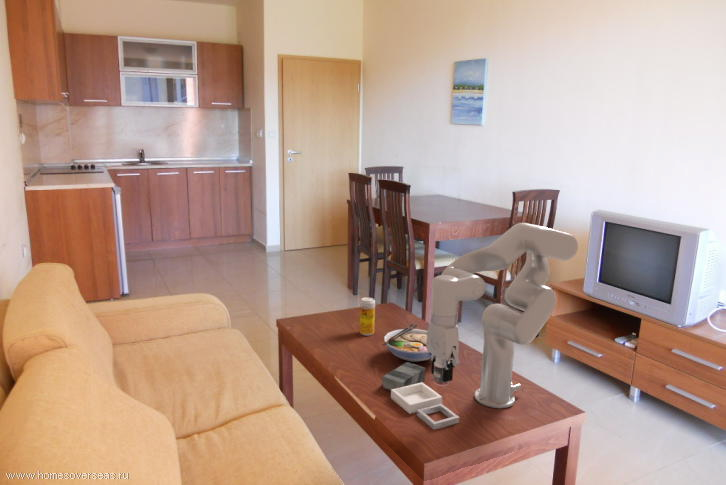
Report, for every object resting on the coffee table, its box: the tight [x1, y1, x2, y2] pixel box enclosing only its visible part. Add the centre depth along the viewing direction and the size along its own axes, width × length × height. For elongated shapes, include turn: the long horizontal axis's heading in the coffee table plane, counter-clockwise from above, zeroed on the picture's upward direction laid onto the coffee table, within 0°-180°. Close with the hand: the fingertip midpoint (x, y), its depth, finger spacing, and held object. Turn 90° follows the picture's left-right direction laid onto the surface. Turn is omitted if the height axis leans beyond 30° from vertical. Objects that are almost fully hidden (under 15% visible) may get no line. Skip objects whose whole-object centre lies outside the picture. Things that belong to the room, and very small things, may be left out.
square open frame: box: [416, 403, 460, 431], centre depth 165 cm, size 9×9×2 cm
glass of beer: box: [359, 296, 376, 337], centre depth 229 cm, size 6×6×15 cm
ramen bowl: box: [382, 323, 431, 363], centre depth 207 cm, size 25×23×8 cm
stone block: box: [381, 361, 426, 392], centre depth 186 cm, size 9×14×5 cm, turn 141°
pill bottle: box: [433, 357, 451, 387], centre depth 162 cm, size 5×5×8 cm
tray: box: [390, 382, 443, 415], centre depth 174 cm, size 12×11×3 cm
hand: (441, 376), depth 162 cm, fingers closed on pill bottle, 4 cm apart
